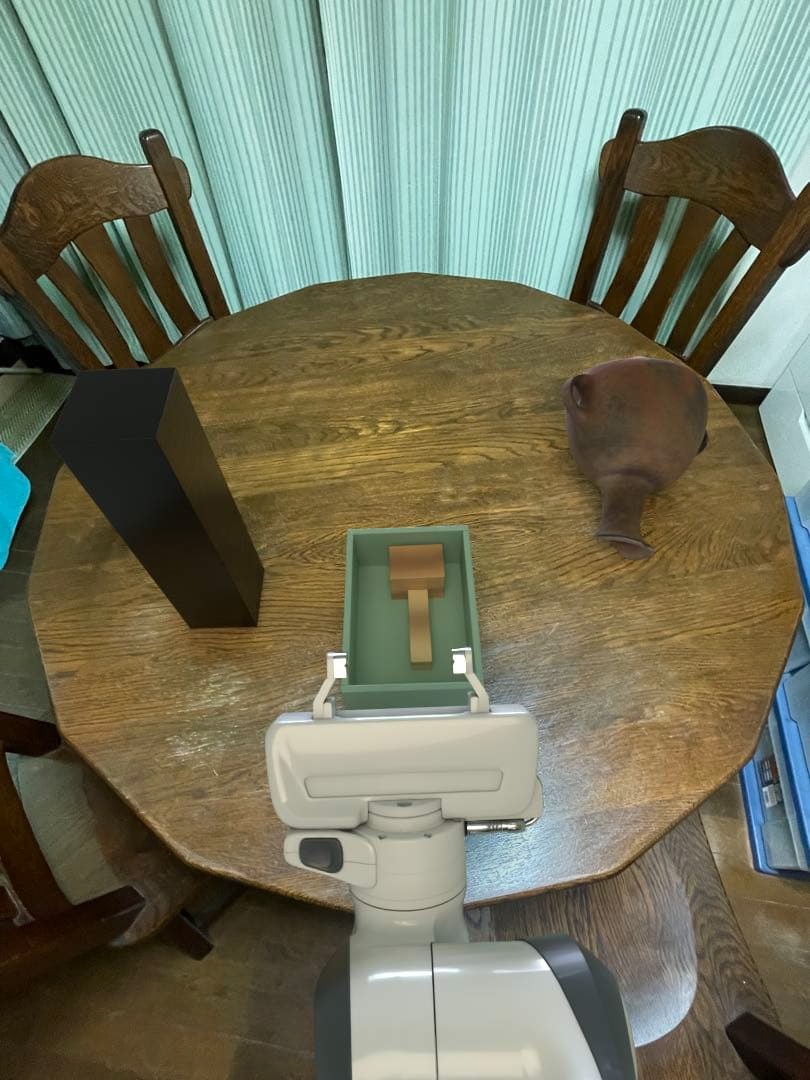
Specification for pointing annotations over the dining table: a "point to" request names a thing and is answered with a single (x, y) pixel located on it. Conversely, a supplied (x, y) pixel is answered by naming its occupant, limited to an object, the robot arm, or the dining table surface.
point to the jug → (634, 437)
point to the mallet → (417, 592)
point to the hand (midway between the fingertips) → (399, 650)
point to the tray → (406, 623)
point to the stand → (162, 491)
